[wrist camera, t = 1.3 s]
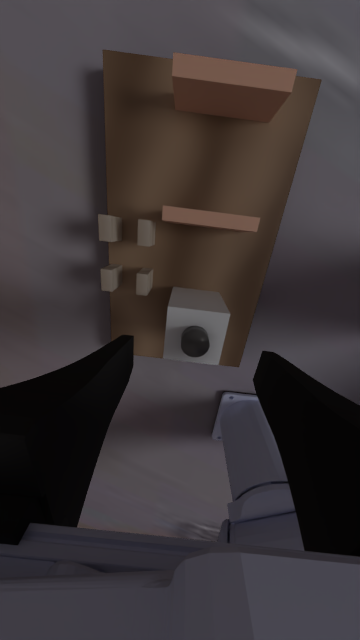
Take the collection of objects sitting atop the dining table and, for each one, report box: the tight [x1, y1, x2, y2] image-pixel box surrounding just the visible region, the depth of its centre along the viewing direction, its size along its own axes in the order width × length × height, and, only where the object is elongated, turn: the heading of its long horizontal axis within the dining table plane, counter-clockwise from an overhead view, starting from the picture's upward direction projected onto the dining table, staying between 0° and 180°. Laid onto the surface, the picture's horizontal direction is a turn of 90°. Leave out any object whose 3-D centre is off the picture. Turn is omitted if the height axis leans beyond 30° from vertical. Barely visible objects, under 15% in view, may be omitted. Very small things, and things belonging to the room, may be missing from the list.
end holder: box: [162, 53, 297, 232], centre depth 12 cm, size 6×7×3 cm
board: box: [98, 50, 321, 367], centre depth 15 cm, size 13×21×4 cm, turn 173°
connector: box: [163, 287, 230, 365], centre depth 15 cm, size 4×4×6 cm
